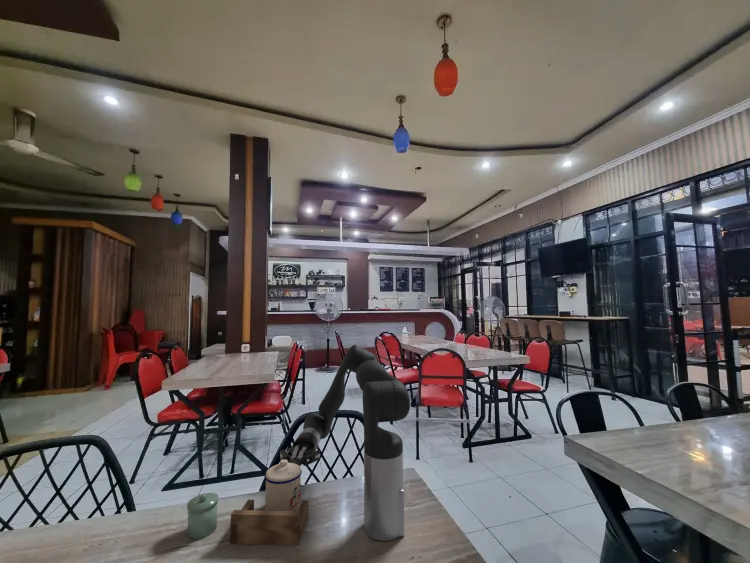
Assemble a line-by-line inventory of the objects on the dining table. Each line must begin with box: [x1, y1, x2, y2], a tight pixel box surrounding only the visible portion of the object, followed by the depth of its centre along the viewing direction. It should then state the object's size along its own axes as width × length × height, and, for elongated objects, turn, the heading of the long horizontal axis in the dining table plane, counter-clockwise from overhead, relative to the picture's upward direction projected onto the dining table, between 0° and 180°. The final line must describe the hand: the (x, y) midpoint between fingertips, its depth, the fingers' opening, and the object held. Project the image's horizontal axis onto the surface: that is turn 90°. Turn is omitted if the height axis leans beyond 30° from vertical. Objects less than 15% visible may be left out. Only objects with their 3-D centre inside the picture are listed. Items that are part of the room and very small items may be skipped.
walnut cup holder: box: [229, 499, 310, 546], centre depth 74 cm, size 15×9×6 cm, turn 88°
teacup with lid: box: [264, 459, 303, 511], centre depth 84 cm, size 12×9×12 cm
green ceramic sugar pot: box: [186, 492, 219, 540], centre depth 75 cm, size 6×6×8 cm
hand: (291, 469), depth 90 cm, fingers closed
